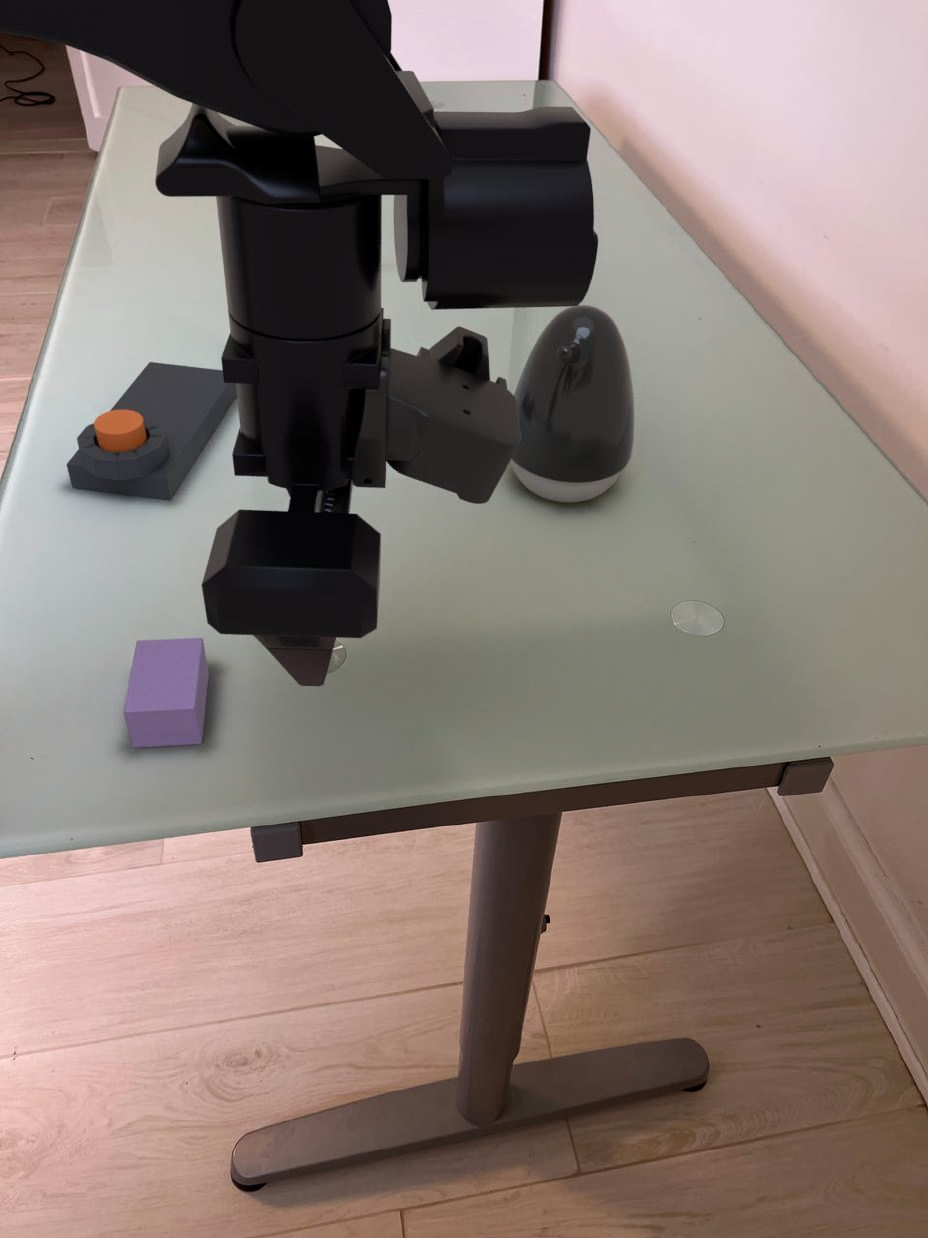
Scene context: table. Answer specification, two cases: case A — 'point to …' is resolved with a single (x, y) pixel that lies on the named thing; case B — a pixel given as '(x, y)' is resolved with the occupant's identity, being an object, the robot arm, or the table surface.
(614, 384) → the dark grey egg dome
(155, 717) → the soap bar
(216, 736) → the table surface
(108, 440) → the orange push button
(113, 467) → the button base
